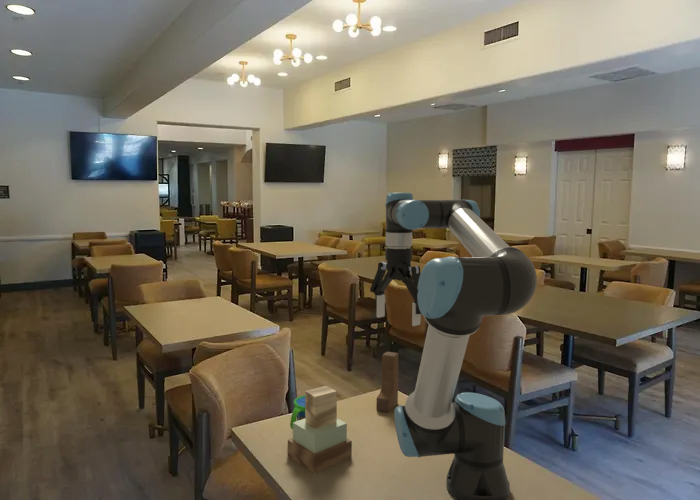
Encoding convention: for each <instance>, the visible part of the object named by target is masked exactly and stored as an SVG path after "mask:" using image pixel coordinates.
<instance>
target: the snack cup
mask: <svg viewBox="0 0 700 500" xmlns="http://www.w3.org/2000/svg"><path fill="white" fill-rule="evenodd" d="M293 406H294V408H293V410H292V414H291V416H290V423H289V425H290V428H291V430H292V431H293V422H296V421H299V420H302V419H305V394H303V395H301V396H298V397H296V398H295V399H294V400H293Z"/></svg>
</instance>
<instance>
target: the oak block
mask: <svg viewBox="0 0 700 500" xmlns="http://www.w3.org/2000/svg"><path fill="white" fill-rule="evenodd" d="M304 395H305V423H307V424H308V425H310V426H311V427H313V428H314V429H318V428H321V427H324V426H327V425H330V424H334V423H337V419H338V418H337V417H338V416H337V415H338V411H337V407H338V406H337V402H338V401H337V400H338V399H337V396H338V393H337V390H335V389H333V388H331V387H330V386H328V385H323V386H319V387H316V388H312V389H308V390H305V391H304Z"/></svg>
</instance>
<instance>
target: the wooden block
mask: <svg viewBox="0 0 700 500" xmlns="http://www.w3.org/2000/svg"><path fill="white" fill-rule="evenodd" d="M379 391H380V392H379V394H378V395H377V397H376V408H375V409H376V411H378V412H379V411H380V412H383V413H389V412H390V411H392V410H393V409H394V408H395V406H396V405H398V401H399V398H398V397H399V353H398V352H393V351H385V352H384V353H383V354H382V355H381V387H380V390H379Z"/></svg>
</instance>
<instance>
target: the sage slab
mask: <svg viewBox="0 0 700 500" xmlns="http://www.w3.org/2000/svg"><path fill="white" fill-rule="evenodd" d="M347 431H348V424H347V422H345V421H343V420H341V419H339V418H337V423H334V424H330V425H327V426H324V427H321V428H318V429H314V428H313V427H311V426H310V425H308V424H307V423H305V419H302V420H299V421H296V422H293V430H292V438H293V440H294V441H296V442H297V443H299V444H300V445H302V446H304V447H305V448H307V449H309V450H310V451H312V452H313V453H317V452H320V451H322V450H325V449H327V448H330V447H332V446H335V445H337V444H339V443H342V442H344V441H347V439H348V437H347V435H348V433H347Z"/></svg>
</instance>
